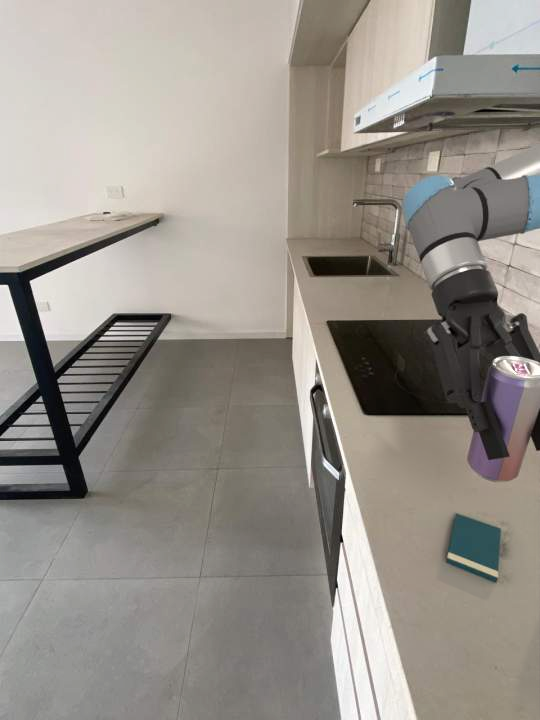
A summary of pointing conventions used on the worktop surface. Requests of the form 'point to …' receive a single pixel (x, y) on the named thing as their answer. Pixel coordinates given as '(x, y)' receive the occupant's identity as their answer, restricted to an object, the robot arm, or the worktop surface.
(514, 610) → the worktop surface
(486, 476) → the beverage can
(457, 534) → the teal hardcover book
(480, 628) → the worktop surface
